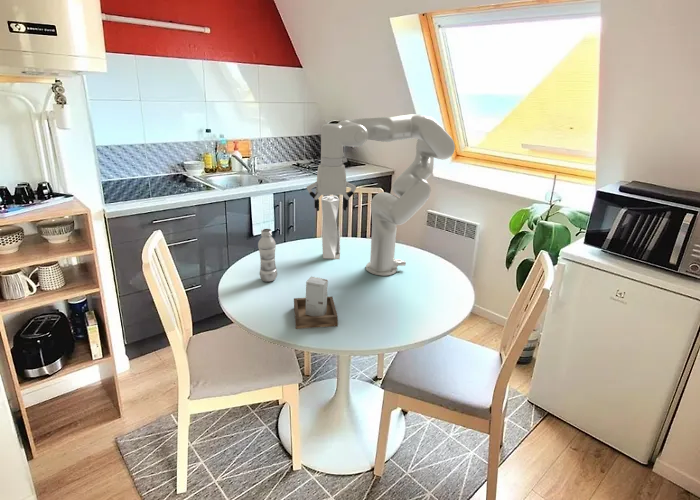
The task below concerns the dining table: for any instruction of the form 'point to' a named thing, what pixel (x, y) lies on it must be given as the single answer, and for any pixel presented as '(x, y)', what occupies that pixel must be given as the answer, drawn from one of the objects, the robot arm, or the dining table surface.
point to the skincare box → (316, 296)
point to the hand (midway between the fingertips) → (331, 209)
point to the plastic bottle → (267, 256)
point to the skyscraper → (330, 228)
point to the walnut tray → (314, 321)
